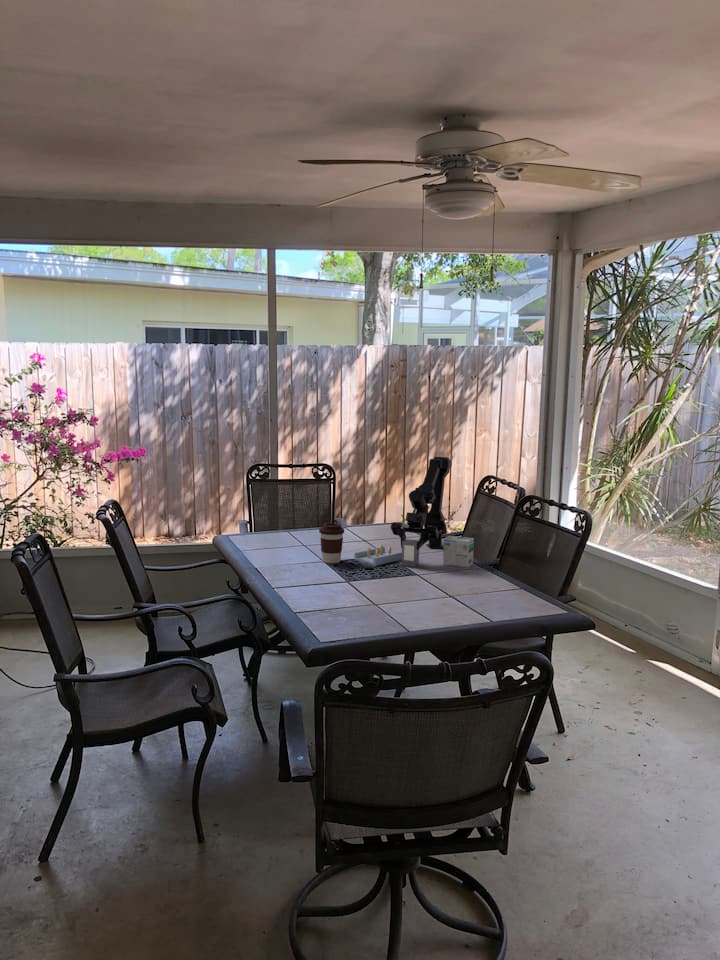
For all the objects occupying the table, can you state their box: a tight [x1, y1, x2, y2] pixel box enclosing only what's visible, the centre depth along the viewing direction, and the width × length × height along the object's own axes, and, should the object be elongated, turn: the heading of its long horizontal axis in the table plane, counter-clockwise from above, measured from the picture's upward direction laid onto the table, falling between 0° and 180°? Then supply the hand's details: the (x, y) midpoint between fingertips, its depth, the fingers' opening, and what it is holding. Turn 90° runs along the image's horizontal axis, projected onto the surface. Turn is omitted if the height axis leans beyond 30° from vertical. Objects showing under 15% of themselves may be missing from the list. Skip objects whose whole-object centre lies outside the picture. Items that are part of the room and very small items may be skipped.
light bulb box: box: [442, 535, 475, 568], centre depth 302 cm, size 11×7×11 cm, turn 65°
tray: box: [354, 544, 402, 567], centre depth 307 cm, size 16×12×5 cm
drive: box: [400, 538, 420, 568], centre depth 299 cm, size 4×6×10 cm, turn 68°
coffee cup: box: [318, 522, 345, 564], centre depth 302 cm, size 10×10×15 cm
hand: (409, 548), depth 297 cm, fingers closed on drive, 6 cm apart
